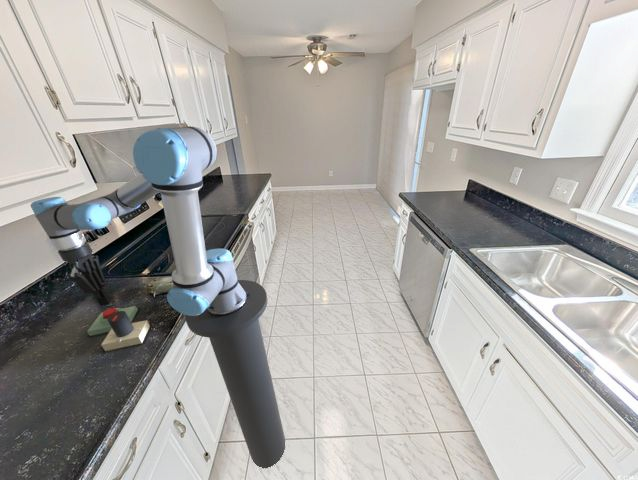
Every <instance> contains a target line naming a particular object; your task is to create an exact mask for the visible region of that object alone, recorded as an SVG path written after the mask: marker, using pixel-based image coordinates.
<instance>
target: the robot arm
mask: <svg viewBox="0 0 638 480" xmlns="http://www.w3.org/2000/svg"><path fill="white" fill-rule="evenodd" d="M132 148H133V149H132V157H133V158H132V159H133V163H134V165H135V168H136V169H137V171H138V173H137V174H136V175H135V176H133V177H132V178H131V179H129V180H128V181H126V182H125V183H124V184H122V185H121V186H119V187H118V188H117V189H116V190H114V191H112V192H111V193H108V194H105V195H102V196H99V197H96V198H94V199H93V198H92V199H90V200H86V201H83V202H81V203H73V204H69V203H68V202H67V201H66V199H65V198H64V197H62V196H51V197H46V198H42V199H37V200H35V201H32V202H31V203H30V208H31V210H32V212H33V213H34V217H35V218H36V220H37V221H38V222H39V224H40V226H41V227H42V229H43V231H44V233H46V235H47V236H48V238H49V240H50V242H51V244H52V246H53V247H54V249H55V250H57V253H58V255H59V256H60V258H61V260H62V261H63V262H66V263H68V264H69V269H71V273H68V274H67V277H68V278H69V279H71V280H72V281H74V282H75V283H76V285H77V286H78V287H79V288H80V289H81V290H82V292H84V293H85V295H88V294H92V295H93V296H94V298H95V300H96V301H97V302H98V304H99V306H100V307H102V306H106V305H110V304H111V303H112V301H111V299H110V297H109V295H108V294H107V291H106V289H105V288H104V287H106V286H107V283H105V282H106V279H105V275H104V273H103V269H102V267H101V264H100V260H99V256H98V255H92V254H93V249H92V248H91V245H90V243H89V242H87V238H86V236H85V234H84V232H83V231H84V230H85V231H94V230H95V231H96V230H100V229H101V230H102V229H104V228H106V227H108V225H109V223H110V222H111V221H113V220H114V219H116V218H118V217H121V216H124V215H126V214H128V213H132V212H133V211H135V210H137V209H139V208H140V207H141V205H142V204H144V203H145V202H147V201H148V200H150V199H151V198H153V197H155V196H156V195H158V194H160V197H161V202H162V207H163V212H164V217H165V221H166V226H167V231H168V236H169V241H170V246H171V251H172V255H173V256H172V257H173V260H174V265H175V269H174V270H173V271H172V273H171V277H172V281H173V289H171V290H170V291H169V293H167V294H166V300H167V302H168V304H169V306H170V307H172V309H173V310H175V311H177V312H178V313H180V314H182V315H184V316H185V315H189V316H197V315H200V314H201V313H203V312H204V311H205V309H207V311H208V312H209V313H210V314H211V315H214V316H226V315H230V314H233V313H235V312H237V311H238V310H240V309H241V308H242V307H243V306H244V305H245V304H246V301H247V296H246V294H250V292H245V291H244V289H243V288H242V287H241V285H240V284H239V283H238V280H239V279H238V275H237V271H236V266H235V263H234V258H233V256H232V255H233V254H232V252H231V251H230V250H228V249H227V248H212V249H208V250H206V244H205V236H204V235H205V234H204V228H203V221H202V215H201V205H200V198H199V191H200V190H201V189H202V187H203V186H204V182H203V173H202V172H204V171H206V170H208V169H209V168H211V167H212V166H213V165H214V164H215V162H216V159H217V155H218V148H217V145H216V142H215V140H214V139H213V137H212V136H211V135H210V134H209V133H208V132H207V131H205V130H203V129H201V128H200V127H197V126H190V125H189V126H179V127H176V126H175V127H164V128H163V127H158V128H155V129H152V130H147V131H145V132H143V133H141V134H140V135H139V137H138V138H137V139H136V140H135V142H134V144H133V147H132ZM82 230H83V231H82Z"/></svg>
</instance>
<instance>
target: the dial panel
mask: <svg viewBox="0 0 638 480" xmlns="http://www.w3.org/2000/svg"><path fill="white" fill-rule="evenodd" d="M131 323H132V325H133V327H134V329H133V331H132V332H131V333H130V334H128V335H127V336H124V337H117V336H116V334H115V333H114V331H113V329H111V331H110V332H108V333H107V335H106V337H105V338H104V339H103V340H102V343H101V344H100V345H101V347H102V349H103V350H104V351H105V352H109V351H112V350H117V349H122V348H126V347H131V346H136V345H139V344H141V345H142V344H143V342H144V340H145V338H146V336H147V334H148V332H149V330H150V328H151V325H150V323H149V320H147V319H146V320H141V321H135V322H131Z"/></svg>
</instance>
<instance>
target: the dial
mask: <svg viewBox="0 0 638 480" xmlns="http://www.w3.org/2000/svg"><path fill="white" fill-rule="evenodd" d="M108 322H109V324H110V326H111V327H112V329H113V331H114V333H115V334H116V336H117V337H124V336H127V335H128V334H130V333H131V332H132V331H133V329H134V327H133V325H132V323H133V322H132V321H130V319H129V317H128V316H127V314H126V312H125V311H119V312H116V313H114V314H112V315H111V316H109V318H108Z"/></svg>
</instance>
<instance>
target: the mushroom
mask: <svg viewBox="0 0 638 480" xmlns="http://www.w3.org/2000/svg"><path fill="white" fill-rule="evenodd" d="M171 289H173V281H172V276H165V277H161V278H158V279H157V278H153V281H151V280H150V281H149V282H148V283H147V287H146V288H145V291H146V293H149V294H152V295H153V297H154V298H155V297H156V295H162V294H165V293H167V294H168V293H169V291H170V290H171Z"/></svg>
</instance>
